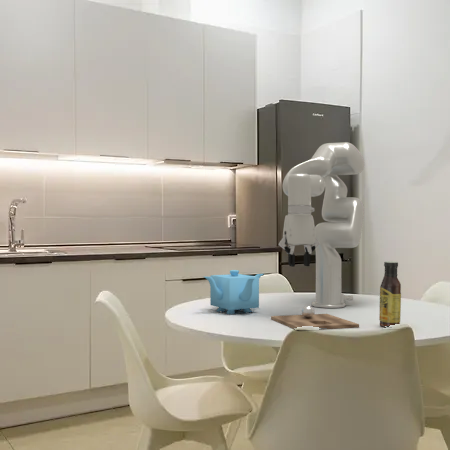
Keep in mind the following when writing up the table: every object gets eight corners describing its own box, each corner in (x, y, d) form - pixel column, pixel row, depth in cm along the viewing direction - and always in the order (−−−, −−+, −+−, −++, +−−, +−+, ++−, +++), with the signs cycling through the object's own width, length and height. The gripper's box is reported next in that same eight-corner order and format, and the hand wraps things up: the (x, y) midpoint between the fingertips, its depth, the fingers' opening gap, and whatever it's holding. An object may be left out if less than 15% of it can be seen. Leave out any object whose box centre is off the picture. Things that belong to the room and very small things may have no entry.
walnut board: (326, 316, 209) (326, 313, 209) (359, 327, 188) (359, 324, 188) (271, 319, 203) (271, 316, 203) (298, 330, 182) (298, 327, 182)
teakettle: (216, 307, 231) (216, 267, 231) (266, 309, 227) (266, 268, 226) (201, 314, 213) (201, 271, 213) (255, 316, 208) (255, 272, 208)
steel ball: (311, 316, 202) (311, 304, 202) (316, 318, 198) (316, 306, 198) (299, 317, 200) (299, 305, 200) (304, 319, 197) (304, 306, 197)
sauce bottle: (376, 324, 193) (376, 260, 192) (396, 324, 193) (396, 260, 193) (383, 328, 186) (384, 262, 186) (404, 328, 187) (404, 262, 186)
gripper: (318, 211, 212) (317, 264, 212) (271, 211, 207) (271, 265, 207) (327, 211, 204) (327, 266, 205) (279, 210, 200) (279, 267, 200)
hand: (299, 265), depth 206 cm, fingers open, 4 cm apart
